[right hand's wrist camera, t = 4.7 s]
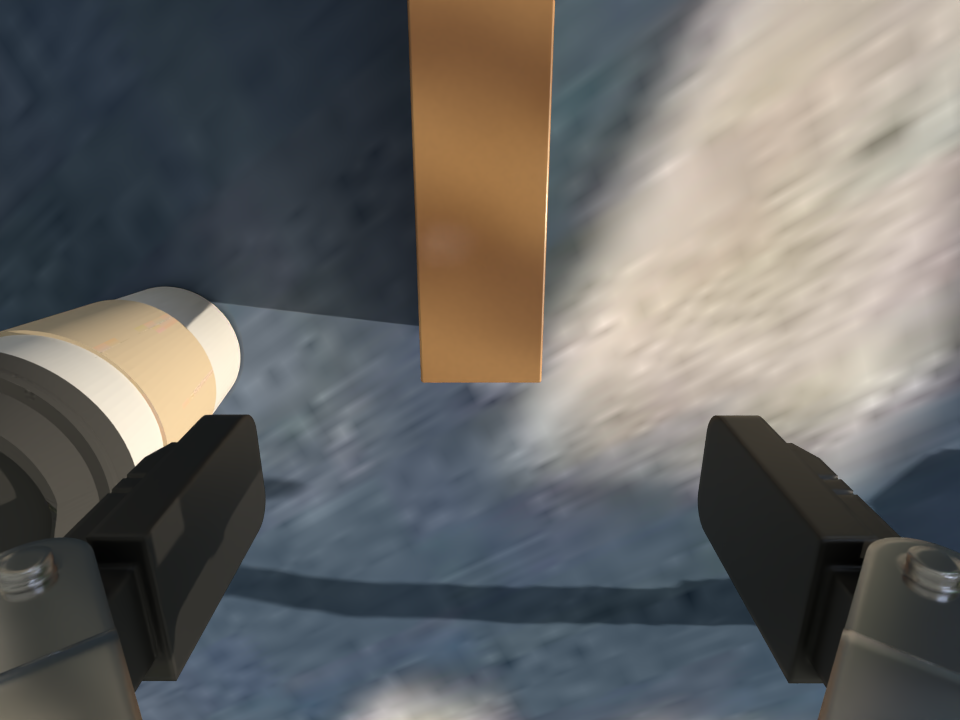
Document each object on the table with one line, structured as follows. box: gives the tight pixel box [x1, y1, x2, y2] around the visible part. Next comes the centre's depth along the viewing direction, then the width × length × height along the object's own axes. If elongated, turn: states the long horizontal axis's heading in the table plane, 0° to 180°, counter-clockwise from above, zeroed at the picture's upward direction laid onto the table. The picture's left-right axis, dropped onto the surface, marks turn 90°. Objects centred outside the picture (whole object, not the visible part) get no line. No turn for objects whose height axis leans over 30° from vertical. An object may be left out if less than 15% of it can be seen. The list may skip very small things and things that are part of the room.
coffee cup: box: [0, 287, 240, 553], centre depth 25 cm, size 9×9×15 cm
